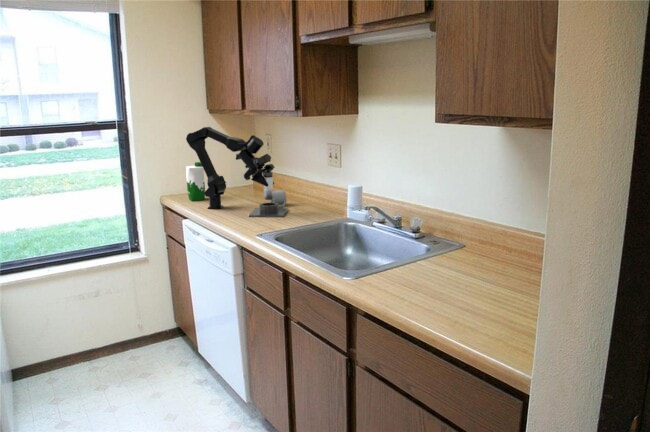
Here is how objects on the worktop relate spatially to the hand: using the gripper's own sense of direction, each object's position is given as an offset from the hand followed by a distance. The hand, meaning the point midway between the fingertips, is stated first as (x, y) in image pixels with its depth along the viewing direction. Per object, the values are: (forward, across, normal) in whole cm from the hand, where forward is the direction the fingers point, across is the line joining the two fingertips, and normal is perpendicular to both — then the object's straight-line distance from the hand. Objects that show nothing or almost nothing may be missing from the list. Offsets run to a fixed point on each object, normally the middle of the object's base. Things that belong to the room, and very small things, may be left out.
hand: (270, 185), depth 240 cm
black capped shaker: (+4, 0, +6) cm, 7 cm away
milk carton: (-29, +13, +49) cm, 59 cm away
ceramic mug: (+5, +18, +14) cm, 23 cm away
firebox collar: (+9, 0, +10) cm, 13 cm away
